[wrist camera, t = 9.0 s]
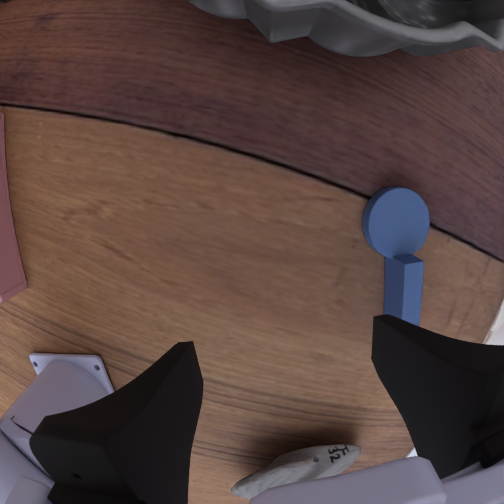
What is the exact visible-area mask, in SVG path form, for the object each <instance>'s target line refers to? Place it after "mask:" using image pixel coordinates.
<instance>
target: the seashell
mask: <svg viewBox="0 0 504 504" xmlns="http://www.w3.org/2000/svg"><path fill="white" fill-rule="evenodd" d="M360 452H361V447H359V446H357V445H346V444H339V445H325V446H312V447H308V448H303V449H298V450H295V451H292V452H289V453H285V454H282V455H280V456H278V457H277V458H276V459H275V460H274V461H273V462H272V463H271V464H270V465H268V466H266V467H264V468H262V469H260V470H258V471H256V472H255V473H253V474H251V475H249V476H247V477H245V478H243V479H241V480H240V481H238V482H237V483H236V484H235V485H234V486H233V488H231V490H232V493H233V494H234V495H235V496H239V497H243V498H251V499H252V498H253V497H255V496H257V495H258V494H260V493H262V492H264V491H265V490H267V489H269V488H272V487H276V486H281V485H285V484H289V483H294V482H301V481H308V480H314V479H319V478H325V477H330V476H335V475H339V474H340V473H341V472H342V471H344V470H345V469H346V468H348V467H349V466H350V465H351V464H352V463H353V462H354V461H355V460H356V459H357V458H358V456H359V454H360Z"/></svg>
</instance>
